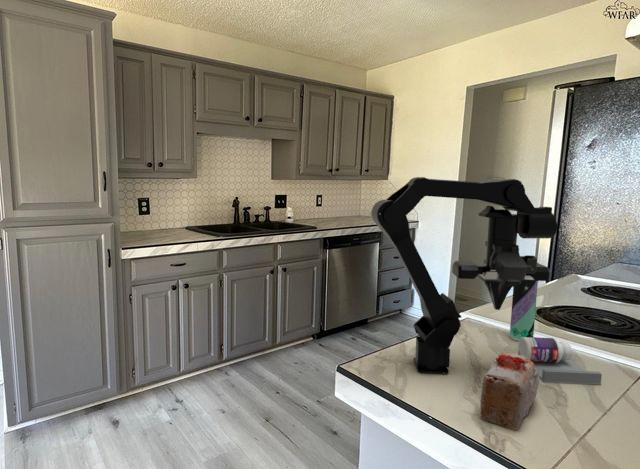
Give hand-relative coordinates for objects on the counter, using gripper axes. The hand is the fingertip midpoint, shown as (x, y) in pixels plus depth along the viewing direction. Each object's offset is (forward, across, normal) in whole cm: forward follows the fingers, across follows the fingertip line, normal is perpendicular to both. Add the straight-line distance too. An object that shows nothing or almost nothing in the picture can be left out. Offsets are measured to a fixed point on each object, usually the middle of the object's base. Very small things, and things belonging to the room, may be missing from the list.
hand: (496, 309), depth 87 cm
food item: (+13, -3, -17) cm, 22 cm away
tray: (+13, +14, 0) cm, 19 cm away
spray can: (+13, +13, +17) cm, 25 cm away
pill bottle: (+10, +7, +3) cm, 13 cm away
